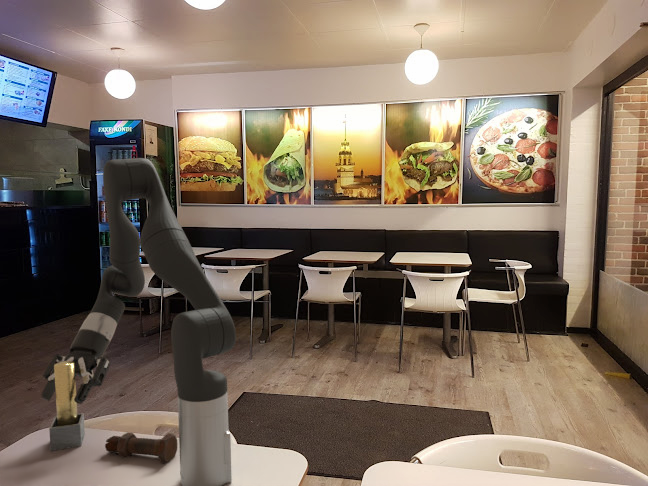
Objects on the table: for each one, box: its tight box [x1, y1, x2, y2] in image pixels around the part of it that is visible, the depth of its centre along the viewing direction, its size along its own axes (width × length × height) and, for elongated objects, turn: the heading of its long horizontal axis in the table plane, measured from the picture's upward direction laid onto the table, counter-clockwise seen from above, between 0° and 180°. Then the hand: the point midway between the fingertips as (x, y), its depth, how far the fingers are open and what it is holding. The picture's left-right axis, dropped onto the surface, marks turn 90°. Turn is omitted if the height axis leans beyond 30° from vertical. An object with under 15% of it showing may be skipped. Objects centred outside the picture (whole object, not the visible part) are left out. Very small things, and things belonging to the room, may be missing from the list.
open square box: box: [48, 412, 86, 452], centre depth 108 cm, size 6×6×5 cm
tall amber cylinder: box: [54, 361, 78, 427], centre depth 108 cm, size 4×4×18 cm
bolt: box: [104, 431, 178, 464], centre depth 102 cm, size 6×5×15 cm
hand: (61, 400), depth 106 cm, fingers open, 8 cm apart
